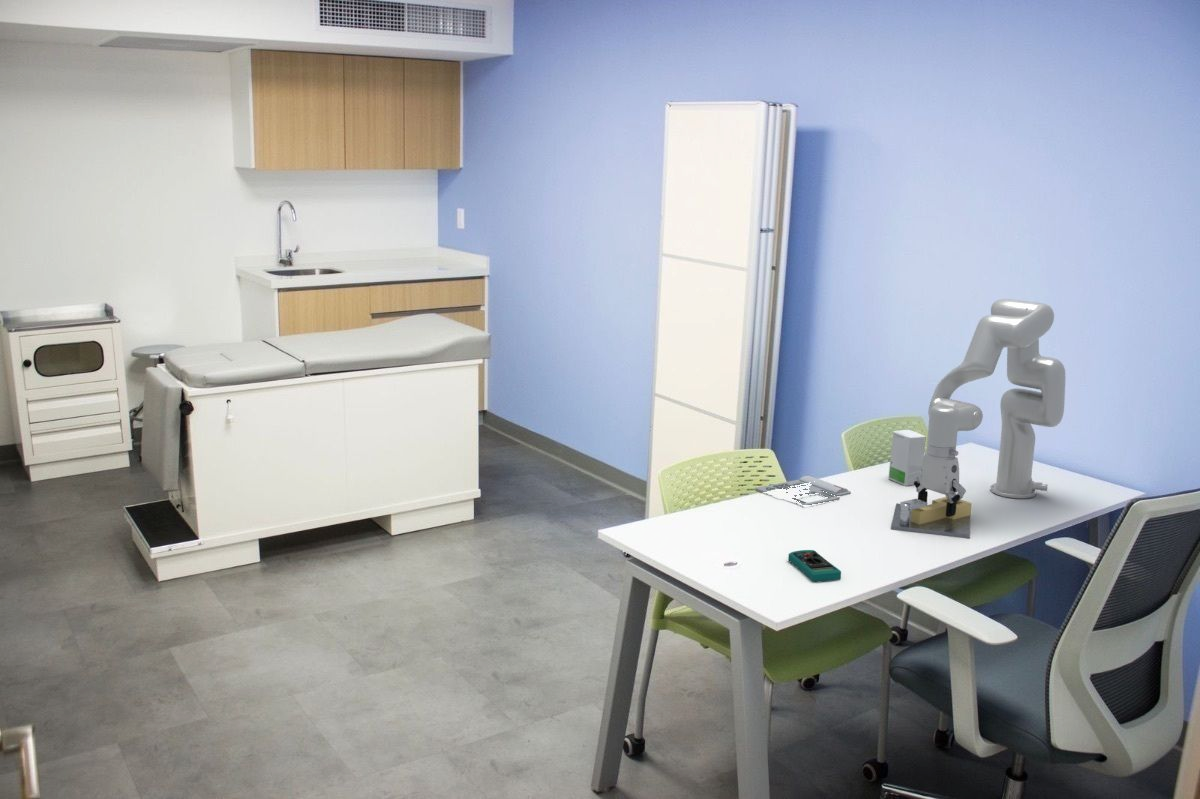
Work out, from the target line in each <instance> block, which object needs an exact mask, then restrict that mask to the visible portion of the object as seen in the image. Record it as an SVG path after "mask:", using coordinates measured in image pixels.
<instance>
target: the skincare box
mask: <svg viewBox="0 0 1200 799" xmlns="http://www.w3.org/2000/svg"><path fill="white" fill-rule="evenodd" d="M891 439H892V440H891V449H890V461H889V467H888V468H889V469H888V475H887V476H888V480H891V481H893V482H895V483H898V484H899V485H902V486H904V487H909V486H915V485H914V481H913V477H912V474H915V473H918V472H921V466H922V461H923V458H924V455H925V452H926V451H925V450H926V443H927V442H926V441H927V436H926V435H923V434H921V433H919V432H917V431H913V430H911V429H901V430H894V431H892V438H891ZM919 479H920V477H919Z"/></svg>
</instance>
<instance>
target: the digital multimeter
mask: <svg viewBox="0 0 1200 799" xmlns="http://www.w3.org/2000/svg"><path fill="white" fill-rule="evenodd" d="M787 557H788V558H787V560H790V561H791V562H792V563H793V564H794V566H795V565H796V566H797V567H798V568H799V569H798V568H797V567H796V566H795V567H796V568H797V569H798V570H799V571H800V572H802V573H803V572H804V573H805V574H806V575H805V574H804V573H803V574H804V575H805V576H806V577H807V578H808V579H810V581H812V582H813V581H814V583H817V582H816V581H821V582H830V581H829V580H832V581H837V579H838V580H841V579H842V571H841V570H840V569H839V568H837V567H836V566H835V565H833V563H831V562H829V561H828V560H827V559H825V557H823V556H822V555H820V554H819V553H818V552H817V551H816V550H814V549H803V550H795V551H791V552H789V553H788V556H787ZM791 562H790V563H791ZM792 563H791V564H792ZM793 564H792V565H793Z"/></svg>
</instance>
